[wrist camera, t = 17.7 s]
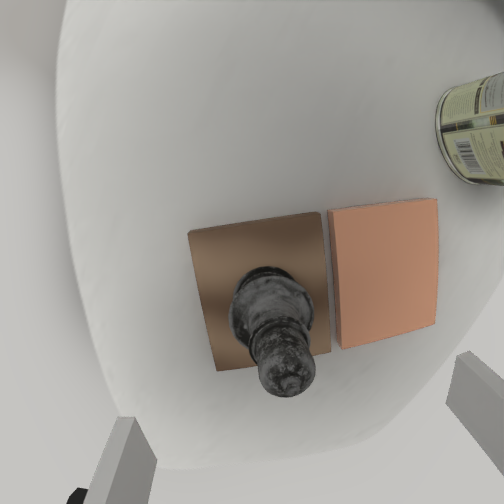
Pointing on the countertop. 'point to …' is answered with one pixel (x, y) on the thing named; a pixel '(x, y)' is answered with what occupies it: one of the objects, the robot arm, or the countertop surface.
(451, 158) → the coffee can
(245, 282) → the dark chess piece
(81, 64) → the countertop surface
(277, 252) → the shorter pad
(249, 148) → the countertop surface
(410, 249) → the taller pad
